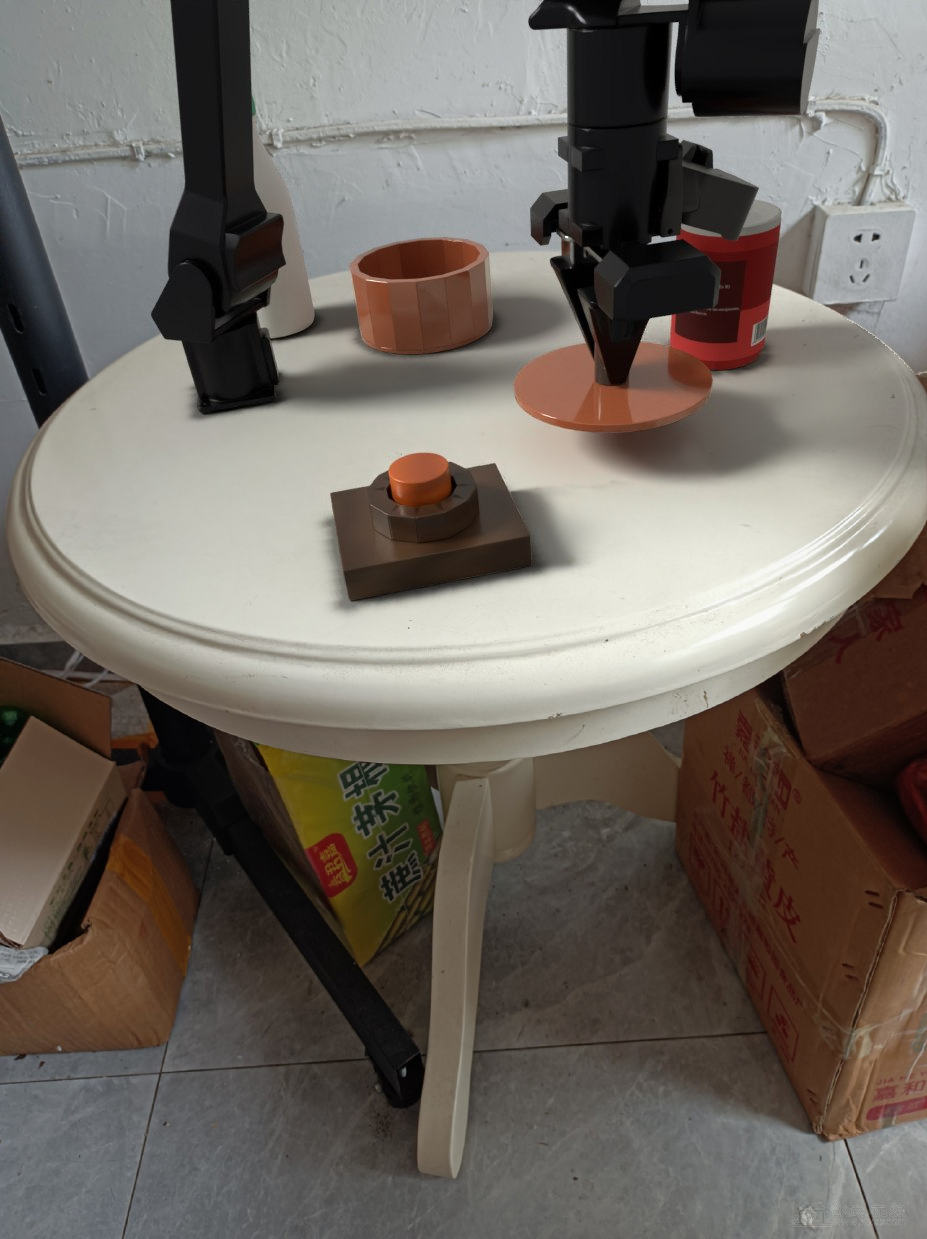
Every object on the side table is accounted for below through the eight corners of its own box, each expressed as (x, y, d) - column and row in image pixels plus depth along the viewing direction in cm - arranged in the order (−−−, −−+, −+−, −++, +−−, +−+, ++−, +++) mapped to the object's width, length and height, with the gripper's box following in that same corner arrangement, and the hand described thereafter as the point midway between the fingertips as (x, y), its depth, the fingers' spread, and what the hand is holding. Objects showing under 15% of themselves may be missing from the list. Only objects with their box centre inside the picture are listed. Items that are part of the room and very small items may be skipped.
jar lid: (543, 456, 55) (541, 379, 51) (495, 373, 65) (490, 304, 62) (746, 420, 56) (756, 342, 53) (666, 344, 66) (671, 275, 63)
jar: (369, 363, 77) (357, 290, 73) (354, 315, 87) (343, 249, 83) (506, 340, 78) (502, 268, 74) (476, 296, 88) (471, 230, 84)
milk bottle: (324, 329, 84) (278, 93, 72) (246, 347, 83) (185, 108, 70) (306, 306, 90) (260, 83, 77) (233, 322, 88) (174, 97, 76)
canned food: (747, 329, 75) (764, 193, 68) (776, 366, 69) (798, 221, 62) (659, 338, 75) (667, 203, 69) (680, 376, 69) (691, 232, 62)
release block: (349, 601, 50) (336, 544, 48) (335, 520, 57) (324, 467, 54) (532, 565, 51) (529, 508, 49) (497, 491, 58) (493, 437, 56)
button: (396, 513, 50) (392, 487, 49) (388, 483, 53) (384, 458, 52) (457, 502, 51) (454, 476, 50) (445, 472, 53) (442, 447, 52)
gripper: (832, 127, 43) (785, 413, 53) (685, 79, 58) (669, 311, 68) (620, 158, 42) (612, 444, 52) (524, 101, 57) (532, 334, 66)
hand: (610, 375), depth 60 cm, fingers closed on jar lid, 2 cm apart
